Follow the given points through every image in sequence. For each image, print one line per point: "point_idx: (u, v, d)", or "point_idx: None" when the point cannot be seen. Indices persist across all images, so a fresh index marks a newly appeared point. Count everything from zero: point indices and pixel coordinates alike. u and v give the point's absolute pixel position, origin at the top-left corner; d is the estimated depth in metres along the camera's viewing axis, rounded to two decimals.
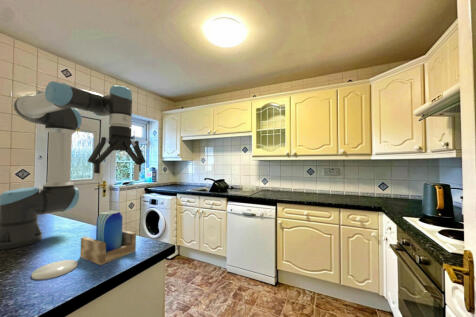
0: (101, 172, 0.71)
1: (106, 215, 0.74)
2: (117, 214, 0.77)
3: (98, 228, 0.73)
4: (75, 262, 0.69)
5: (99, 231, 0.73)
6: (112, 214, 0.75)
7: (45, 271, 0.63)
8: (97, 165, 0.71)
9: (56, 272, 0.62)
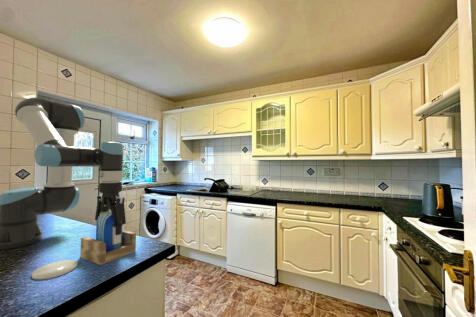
0: None
1: (106, 215, 0.74)
2: None
3: (98, 228, 0.73)
4: (75, 262, 0.69)
5: (99, 231, 0.73)
6: None
7: (45, 271, 0.63)
8: None
9: (56, 272, 0.62)
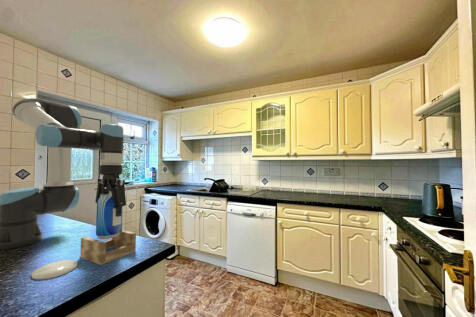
0: None
1: (106, 197, 0.75)
2: None
3: (98, 209, 0.74)
4: (75, 262, 0.69)
5: (99, 212, 0.74)
6: None
7: (45, 271, 0.63)
8: None
9: (56, 272, 0.62)
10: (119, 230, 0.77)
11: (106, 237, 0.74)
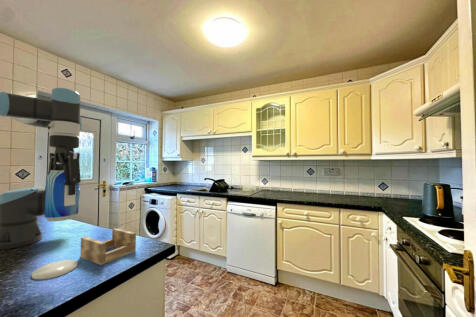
0: None
1: (57, 172, 0.64)
2: None
3: (47, 187, 0.63)
4: (75, 262, 0.69)
5: (48, 190, 0.63)
6: None
7: (45, 271, 0.63)
8: None
9: (56, 272, 0.62)
10: (73, 212, 0.66)
11: (56, 218, 0.63)
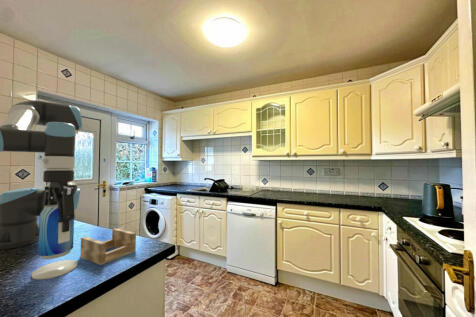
0: None
1: (51, 208, 0.62)
2: None
3: (40, 224, 0.62)
4: (75, 262, 0.69)
5: (41, 228, 0.61)
6: None
7: (45, 271, 0.63)
8: None
9: (56, 272, 0.62)
10: (68, 248, 0.65)
11: (49, 257, 0.61)
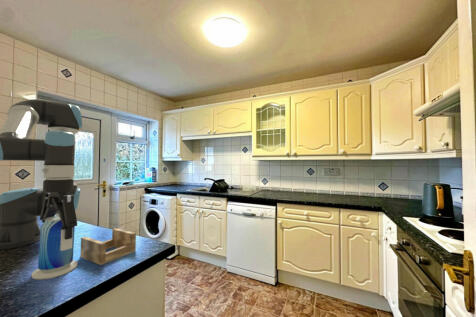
0: None
1: (51, 222, 0.63)
2: None
3: (41, 237, 0.62)
4: (75, 262, 0.69)
5: (42, 241, 0.62)
6: (59, 221, 0.64)
7: None
8: None
9: (56, 272, 0.62)
10: (68, 261, 0.65)
11: (49, 270, 0.62)
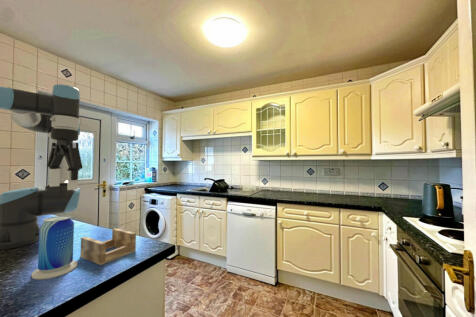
0: (50, 176, 0.74)
1: (50, 222, 0.62)
2: (65, 221, 0.65)
3: (40, 238, 0.62)
4: (75, 262, 0.69)
5: (41, 242, 0.61)
6: (58, 221, 0.63)
7: None
8: None
9: (56, 272, 0.62)
10: (67, 261, 0.65)
11: (49, 271, 0.62)
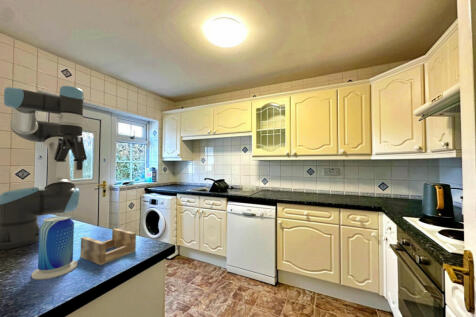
0: (57, 168, 0.83)
1: (50, 222, 0.62)
2: (65, 221, 0.65)
3: (40, 238, 0.62)
4: (75, 262, 0.69)
5: (41, 242, 0.61)
6: (58, 221, 0.63)
7: None
8: None
9: (56, 272, 0.62)
10: (67, 261, 0.65)
11: (49, 271, 0.62)
